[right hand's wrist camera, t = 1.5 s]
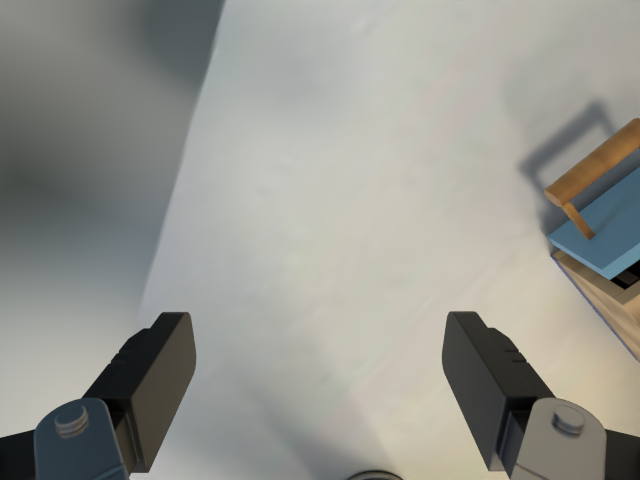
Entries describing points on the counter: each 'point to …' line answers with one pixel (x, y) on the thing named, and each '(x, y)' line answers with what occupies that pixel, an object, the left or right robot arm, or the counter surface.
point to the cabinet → (607, 300)
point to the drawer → (603, 212)
